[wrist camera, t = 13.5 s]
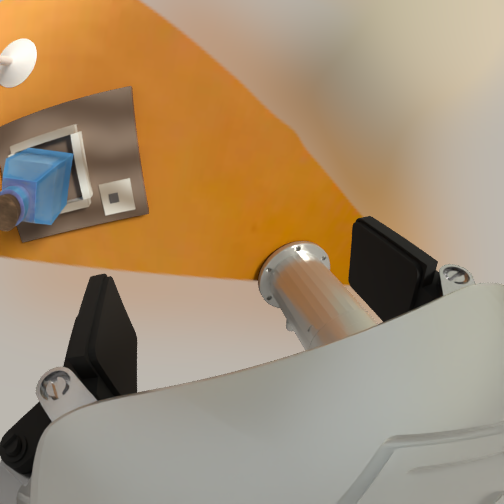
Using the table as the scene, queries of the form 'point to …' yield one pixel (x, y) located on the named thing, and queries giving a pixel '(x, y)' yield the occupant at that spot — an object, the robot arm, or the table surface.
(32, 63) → the champagne flute
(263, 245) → the table surface
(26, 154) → the perfume bottle
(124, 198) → the board
